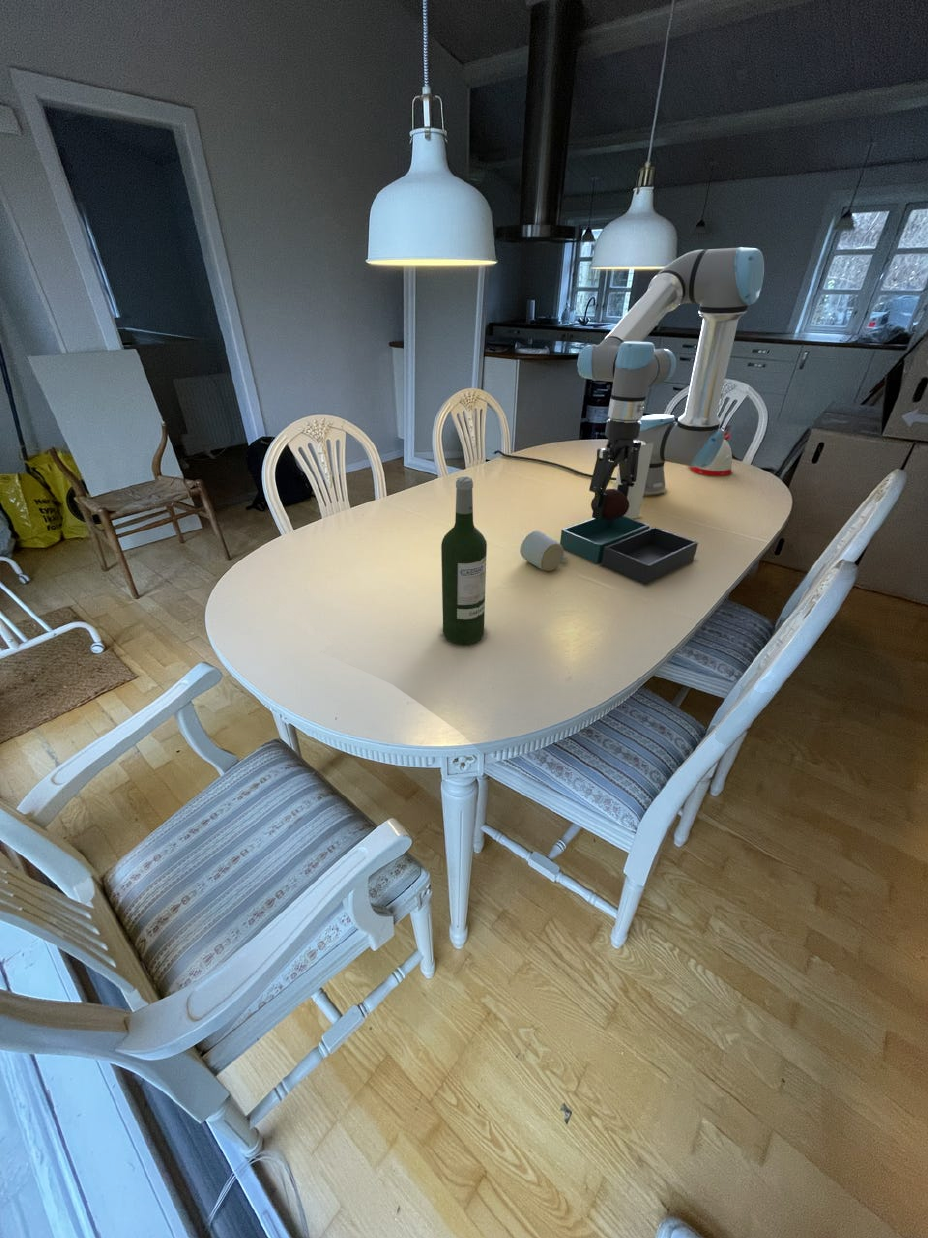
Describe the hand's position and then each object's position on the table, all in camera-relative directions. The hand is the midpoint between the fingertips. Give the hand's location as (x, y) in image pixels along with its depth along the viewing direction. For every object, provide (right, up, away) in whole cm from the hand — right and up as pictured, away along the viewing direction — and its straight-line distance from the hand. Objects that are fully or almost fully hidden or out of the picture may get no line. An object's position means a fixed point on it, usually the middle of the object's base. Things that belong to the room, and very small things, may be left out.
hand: (608, 514), depth 127 cm
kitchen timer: (+55, +29, +61) cm, 87 cm away
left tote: (0, -7, +5) cm, 8 cm away
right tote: (+8, -13, -4) cm, 16 cm away
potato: (0, -1, +1) cm, 1 cm away
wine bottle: (-36, -29, -30) cm, 55 cm away
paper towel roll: (+10, +3, +21) cm, 24 cm away
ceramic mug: (-17, -13, -5) cm, 22 cm away
